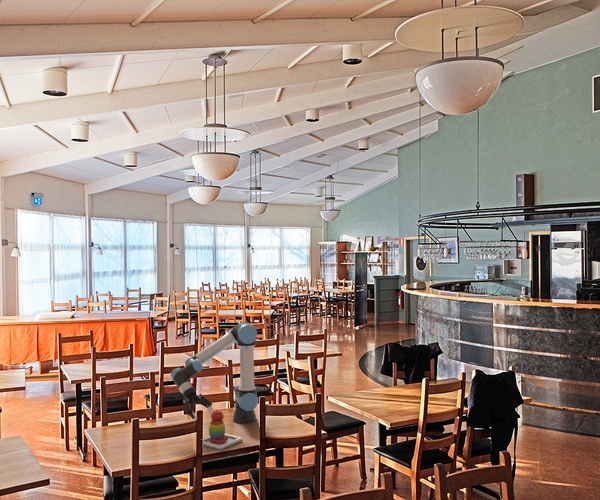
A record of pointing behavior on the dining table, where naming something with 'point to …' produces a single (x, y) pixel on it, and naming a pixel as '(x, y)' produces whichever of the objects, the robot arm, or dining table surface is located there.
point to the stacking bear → (217, 428)
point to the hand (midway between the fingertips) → (206, 419)
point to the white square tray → (229, 442)
